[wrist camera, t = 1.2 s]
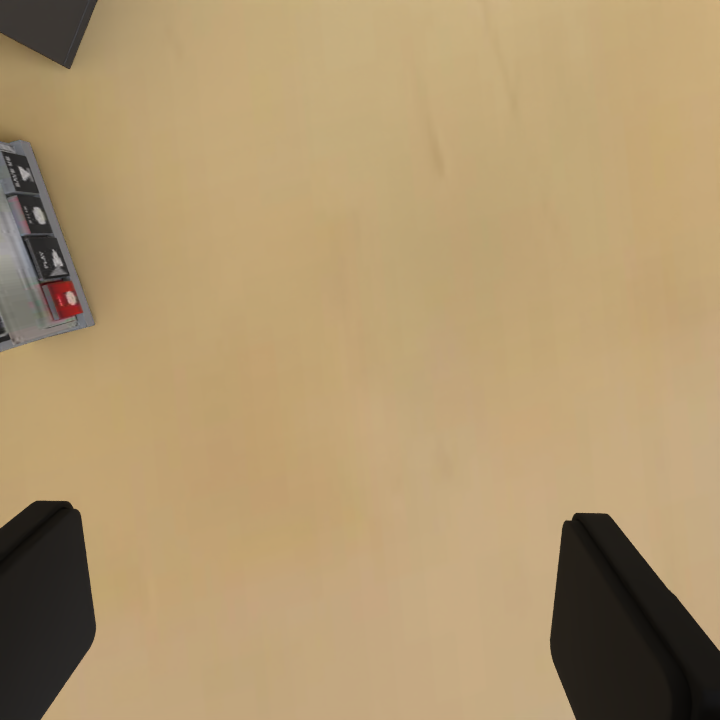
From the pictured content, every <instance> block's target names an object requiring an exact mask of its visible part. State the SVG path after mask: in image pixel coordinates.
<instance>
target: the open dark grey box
mask: <svg viewBox="0 0 720 720" xmlns="http://www.w3.org/2000/svg"><path fill="white" fill-rule="evenodd" d="M96 2H97V0H0V33H2V34H4V35H6V36H8V37H10V38H12V39H14V40H15V41H17V42H19V43H21V44H23V45H25V46H27V47H29V48H30V49H32V50H34V51H36V52H38V53H40V54H42V55H44V56H46V57H47V58H49V59H51V60H53V61H55V62H57V63H59V64H61V65H62V66H64V67H66V68H68V69H70V67H71V65H72V62H73V60H74V57H75V55H76V52H77V50H78V47H79V45H80V42H81V40H82V37H83V35H84V32H85V30H86V27H87V25H88V22H89V20H90V17H91V15H92V12H93V10H94V7H95V5H96Z"/></svg>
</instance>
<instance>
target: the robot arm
mask: <svg viewBox="0 0 720 720" xmlns="http://www.w3.org/2000/svg"><path fill="white" fill-rule="evenodd" d="M95 632H96V622H95V615H94V608H93V600H92V593H91V586H90V578H89V571H88V564H87V556H86V549H85V542H84V534H83V527H82V520H81V515H80V512H79V511H78V510H77V509H73V507H72V505H71V503H69V502H67V501H35V502H33V503H32V504H30V505H29V506H28V507H27V508H25V509H24V510H23V511H22V512H20V513H19V514H18V515H17V516H15V517H14V518H13V519H12V520H10V521H9V522H8V523H7V524H5V525H4V526H3V527H2V528H0V720H41V718H42V717H43V715H44V714H45V712H46V711H47V709H48V708H49V707H50V705H51V704H52V702H53V701H54V699H55V698H56V696H57V695H58V693H59V692H60V691H61V689H62V688H63V686H64V685H65V683H66V682H67V680H68V679H69V677H70V676H71V675H72V673H73V672H74V670H75V669H76V667H77V666H78V664H79V663H80V661H81V660H82V659H83V657H84V656H85V654H86V653H87V651H88V650H89V648H90V647H91V645H92V643H93V640H94V637H95ZM550 649H551V655H552V659H553V662H554V665H555V668H556V670H557V673H558V675H559V678H560V680H561V683H562V685H563V688H564V690H565V693H566V695H567V698H568V700H569V703H570V705H571V708H572V710H573V713H574V715H575V718H576V720H720V651H719V650H718V649H717V647H716V646H715V645H714V644H713V642H712V641H711V640H710V639H709V637H708V636H707V635H706V634H705V632H704V631H703V630H702V629H701V627H700V626H699V625H698V624H697V622H696V621H695V620H694V619H693V617H692V616H691V615H690V614H689V612H688V611H687V610H686V609H685V607H684V606H683V605H682V604H681V602H680V601H679V600H678V599H677V597H676V596H675V595H674V594H673V593H672V592H671V591H670V590H668V588H667V587H666V586H665V585H664V583H663V582H662V581H661V580H660V578H659V577H658V576H657V575H656V573H655V572H654V571H653V570H652V568H651V567H650V566H649V564H648V563H647V562H646V561H645V559H644V558H643V557H642V556H641V554H640V553H639V552H638V551H637V549H636V548H635V547H634V546H633V544H632V543H631V542H630V541H629V539H628V538H627V537H626V536H625V534H624V533H623V532H622V530H621V529H620V528H619V527H618V525H617V524H616V523H615V522H614V520H613V519H612V518H611V517H610V516H609V515H608V514H601V513H576V514H574V516H573V518H572V521H567V520H566V521H565V522H564V524H563V528H562V536H561V545H560V554H559V563H558V572H557V582H556V591H555V600H554V609H553V618H552V627H551V636H550Z"/></svg>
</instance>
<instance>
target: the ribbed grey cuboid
mask: <svg viewBox="0 0 720 720" xmlns="http://www.w3.org/2000/svg"><path fill="white" fill-rule="evenodd" d="M93 325H95V323H94V320H93V317H92V314H91V312H90V309H89V306H88V303H87V301H86V298H85V295H84V292H83V289H82V287H81V284H80V281H79V278H78V276H77V273H76V270H75V267H74V264H73V262H72V259H71V256H70V253H69V251H68V248H67V245H66V242H65V239H64V237H63V234H62V231H61V228H60V225H59V223H58V220H57V217H56V214H55V212H54V209H53V206H52V203H51V200H50V198H49V195H48V192H47V189H46V187H45V184H44V181H43V178H42V175H41V173H40V170H39V167H38V164H37V162H36V159H35V156H34V153H33V150H32V148H31V145H30V142H26V141H22V140H17V141H14V142H10V143H5V142H1V141H0V352H1V351H5V350H8V349H11V348H14V347H17V346H21V345H24V344H27V343H30V342H33V341H37V340H40V339H43V338H46V337H50V336H54V335H58V334H62V333H66V332H70V331H74V330H78V329H82V328H86V327H90V326H93Z"/></svg>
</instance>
